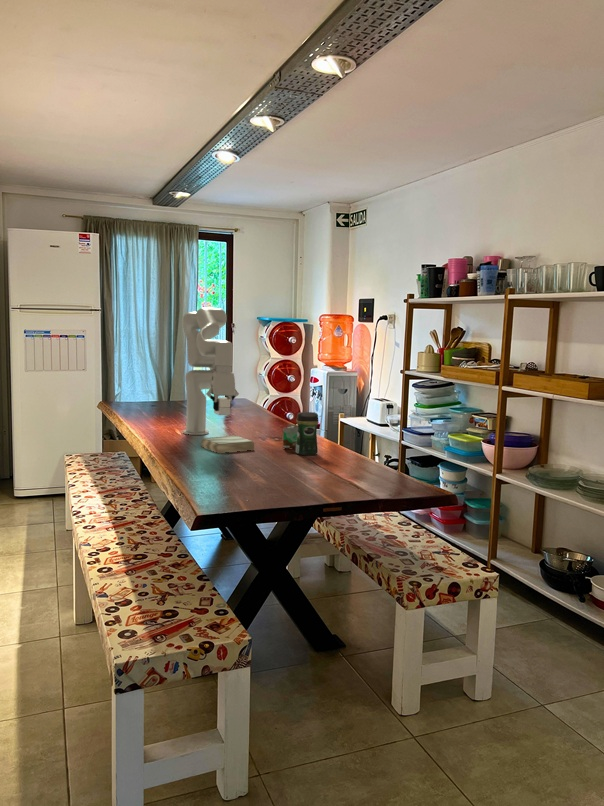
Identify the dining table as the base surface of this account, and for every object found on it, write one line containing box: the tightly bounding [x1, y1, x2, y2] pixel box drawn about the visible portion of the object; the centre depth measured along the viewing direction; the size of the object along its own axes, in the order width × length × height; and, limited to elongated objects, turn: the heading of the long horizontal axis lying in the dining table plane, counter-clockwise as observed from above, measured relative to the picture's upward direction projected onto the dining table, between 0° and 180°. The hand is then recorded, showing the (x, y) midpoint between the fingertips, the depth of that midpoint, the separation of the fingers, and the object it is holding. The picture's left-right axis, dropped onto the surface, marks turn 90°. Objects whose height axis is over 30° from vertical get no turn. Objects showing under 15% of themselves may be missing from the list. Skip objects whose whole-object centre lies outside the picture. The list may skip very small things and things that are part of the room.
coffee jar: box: [294, 411, 319, 456], centre depth 287 cm, size 10×8×19 cm
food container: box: [282, 423, 298, 450], centre depth 300 cm, size 12×6×10 cm, turn 168°
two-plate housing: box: [213, 396, 231, 416], centre depth 289 cm, size 5×7×7 cm
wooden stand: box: [201, 435, 255, 454], centre depth 293 cm, size 16×18×4 cm
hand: (222, 410), depth 290 cm, fingers closed on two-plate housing, 5 cm apart
